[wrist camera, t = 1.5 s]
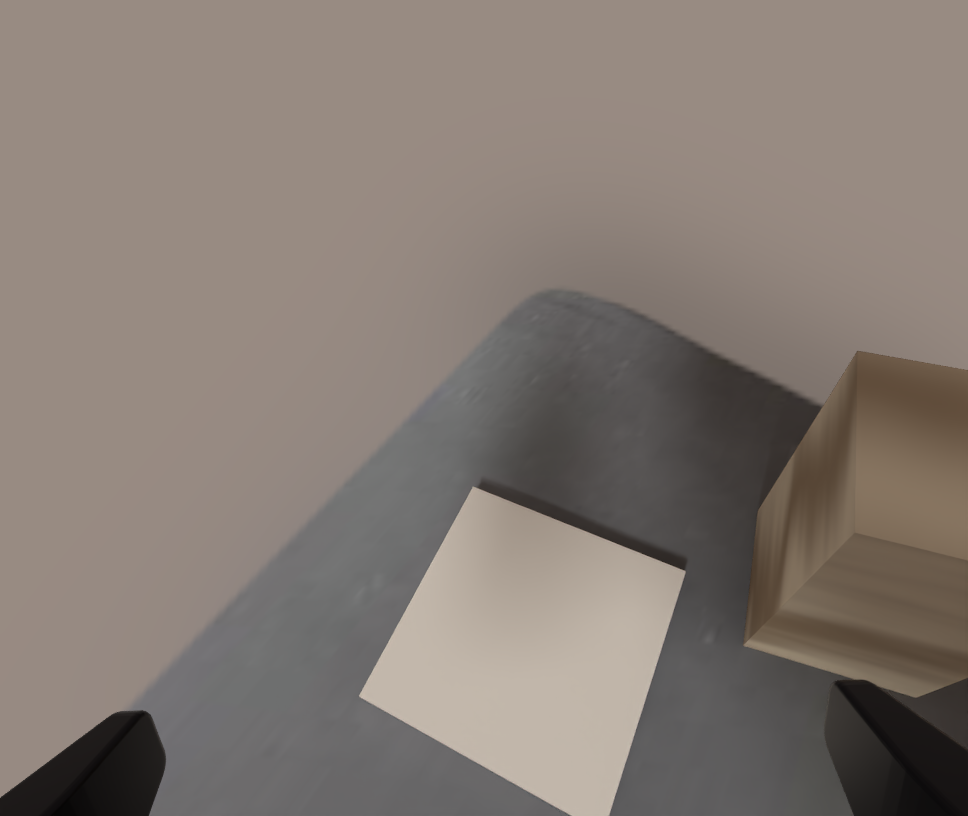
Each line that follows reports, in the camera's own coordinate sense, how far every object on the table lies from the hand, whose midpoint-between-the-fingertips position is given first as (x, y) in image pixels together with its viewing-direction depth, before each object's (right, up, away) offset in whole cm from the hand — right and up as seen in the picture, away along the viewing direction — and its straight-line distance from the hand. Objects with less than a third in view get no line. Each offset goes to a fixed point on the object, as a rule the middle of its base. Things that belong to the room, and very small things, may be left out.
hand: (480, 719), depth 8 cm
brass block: (+13, -3, +15) cm, 20 cm away
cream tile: (+2, -4, +15) cm, 15 cm away
